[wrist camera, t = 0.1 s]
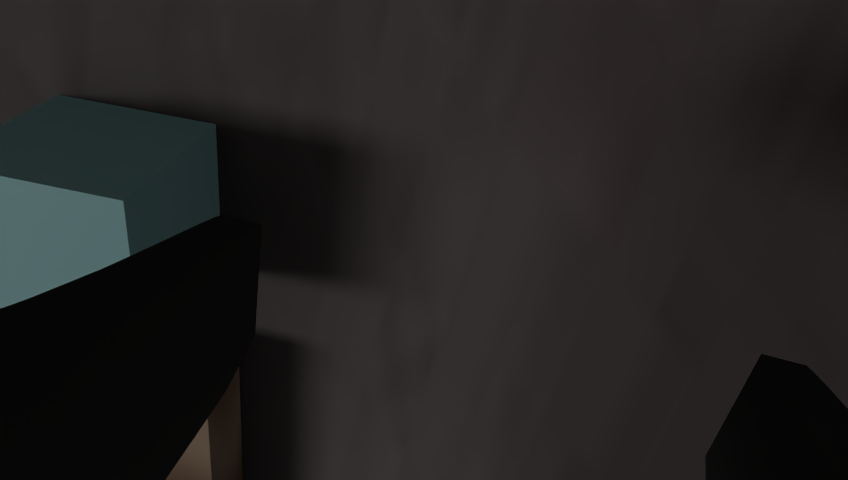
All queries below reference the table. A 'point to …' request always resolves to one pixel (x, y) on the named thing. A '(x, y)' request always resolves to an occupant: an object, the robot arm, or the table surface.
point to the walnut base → (216, 443)
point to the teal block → (96, 189)
